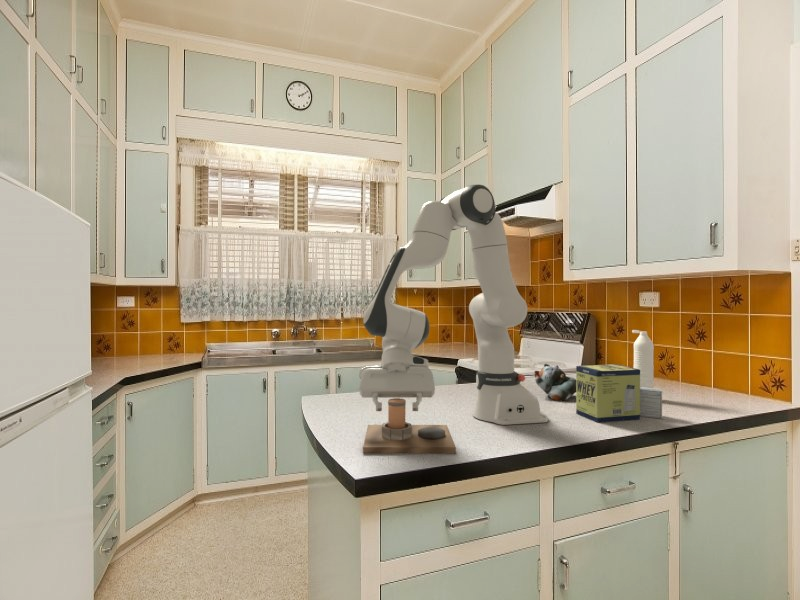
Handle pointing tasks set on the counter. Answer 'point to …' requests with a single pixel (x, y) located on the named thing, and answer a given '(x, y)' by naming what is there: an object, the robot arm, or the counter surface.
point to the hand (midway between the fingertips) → (397, 410)
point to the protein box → (608, 392)
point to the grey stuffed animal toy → (555, 382)
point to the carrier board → (408, 439)
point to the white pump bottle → (644, 358)
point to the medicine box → (650, 402)
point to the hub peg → (396, 413)
